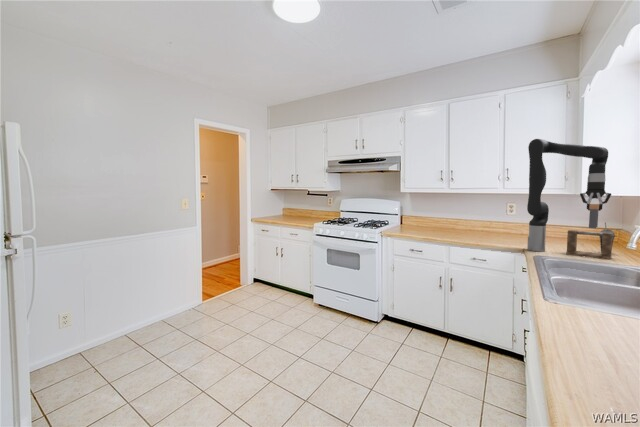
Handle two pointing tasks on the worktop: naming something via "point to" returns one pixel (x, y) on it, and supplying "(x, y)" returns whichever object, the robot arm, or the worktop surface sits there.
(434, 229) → the worktop surface
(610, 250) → the hook stand
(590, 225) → the peach and grey blocks
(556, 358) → the worktop surface
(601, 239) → the beverage cup
